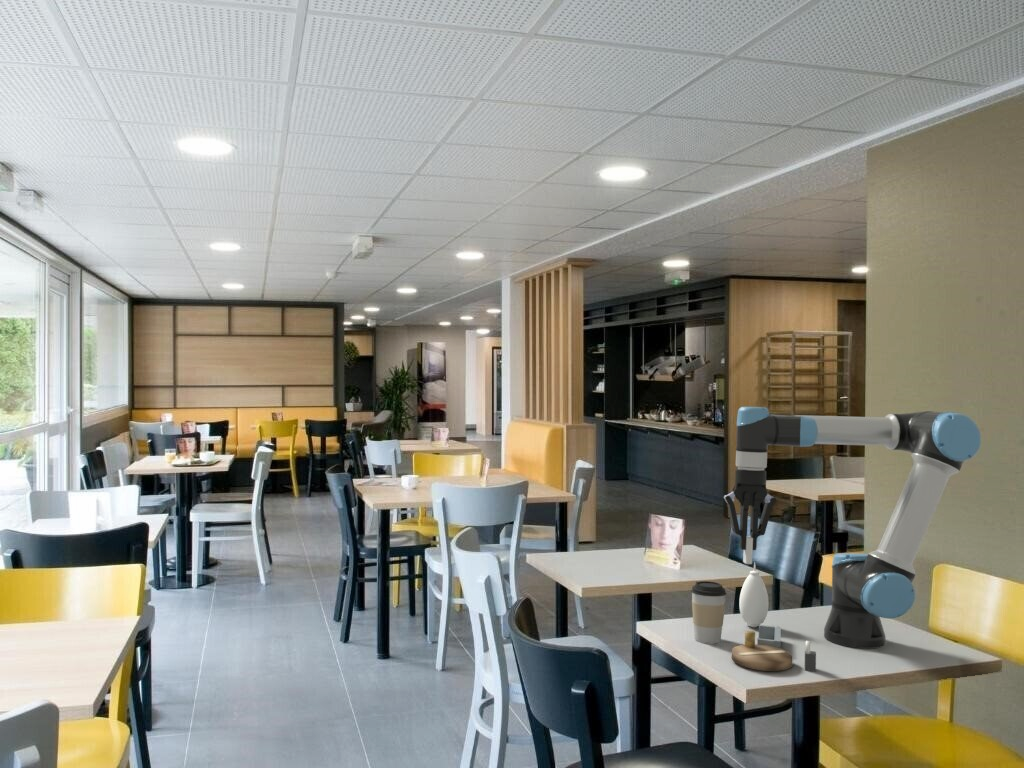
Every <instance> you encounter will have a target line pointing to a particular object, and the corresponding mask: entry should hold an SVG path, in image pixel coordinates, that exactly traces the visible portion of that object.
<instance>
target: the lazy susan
mask: <svg viewBox="0 0 1024 768" xmlns="http://www.w3.org/2000/svg"><path fill="white" fill-rule="evenodd" d="M731 659H732V660H731V661H733V663H736V664H738V665H739V666H741V667H745V668H748V669H753V670H757V671H766V672H769V671H770V672H779V671H785V670H788V669H790V668H792V667H793V655H792V653H790V652H789V651H788V650H785V649H783V648H781V647H780V648H776V647H772V646H766V645H757V644H756V632H755V631H754V630H745V631H744V644H739V645H736V646H734V647H733V648H732V649H731Z"/></svg>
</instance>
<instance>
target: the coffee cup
mask: <svg viewBox="0 0 1024 768" xmlns="http://www.w3.org/2000/svg"><path fill="white" fill-rule="evenodd" d="M691 588H692V589H691V590H690V591H691V597H692V598H691V609H692V622H693V623H692V624H693V634H694V636H693V637H694V640H695V641H696V642H699V643H703V644H712V645H713V644H718V643H721V642H720V641H722V632H723V631H722V630H723V625H724V619H725V618H724V617H725V610H726V609H725V608H726V595H727V591H726V589H725V588H724V587H723V585H722V584H721V583H719V582H716V581H715V582H714V581H708V580H707V581H706V580H705V581H704V580H703V581H696V582H695V584H694V585H692V587H691Z"/></svg>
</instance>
